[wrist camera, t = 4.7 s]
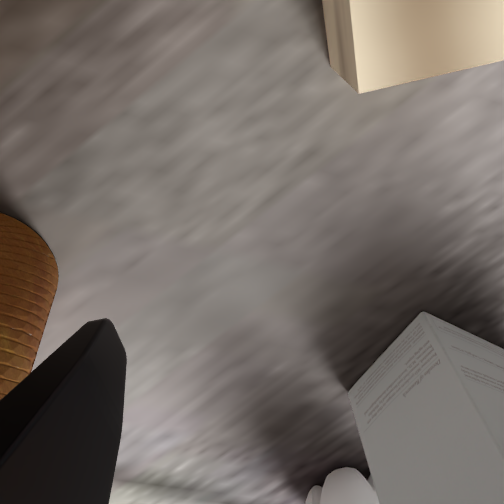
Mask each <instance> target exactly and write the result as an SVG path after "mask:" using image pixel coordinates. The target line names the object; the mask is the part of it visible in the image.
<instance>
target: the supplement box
mask: <svg viewBox="0 0 504 504" xmlns="http://www.w3.org/2000/svg"><path fill="white" fill-rule="evenodd" d="M348 397H349V400H350V404H351V407H352V411H353V414H354V417H355V421H356V425H357V428H358V432H359V435H360V438H361V442H362V445H363V449H364V452H365V456H366V459H367V462H368V466H369V469H370V473H371V476H372V480H373V483H374V487H375V490H376V493H377V497H378V500H379V504H504V349H502V348H500V347H498V346H496V345H494V344H492V343H490V342H488V341H486V340H483V339H481V338H479V337H477V336H475V335H473V334H471V333H469V332H467V331H464V330H462V329H460V328H458V327H456V326H454V325H452V324H450V323H447V322H445V321H443V320H441V319H439V318H437V317H435V316H433V315H431V314H428V313H426V312H421V313H420V314H419V315H418V316H417V317H416V318H415V319H414V320H413V321H412V323H411V324H410V325H409V326H408V327H407V328H406V329H405V330H404V331H403V332H402V333H401V334H400V335H399V336H398V338H397V339H396V340H395V341H394V342H393V343H392V344H391V345H390V346H389V347H388V348H387V349H386V351H385V352H384V353H383V354H382V355H381V356H380V357H379V358H378V359H377V360H376V361H375V362H374V363H373V365H372V366H371V367H370V368H369V369H368V370H367V371H366V372H365V373H364V374H363V376H362V377H361V378H360V379H359V380H358V381H357V382H356V383H355V384H354V386H353V387H352V388H351V389H350V391H349V392H348Z"/></svg>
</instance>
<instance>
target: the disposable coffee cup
mask: <svg viewBox="0 0 504 504" xmlns="http://www.w3.org/2000/svg"><path fill="white" fill-rule="evenodd" d="M57 284H58V267H57V264H56V261H55V258H54V256H53V254H52V252H51V251H50V249H49V248H48V246H47V245H46V243H45V242H44V241H43V240H42V238H41V237H40V236H39V235H38V234H37V233H35V232H34V231H33V230H32V229H30V228H29V227H28V226H26V225H25V224H23V223H21V222H20V221H18V220H16V219H14V218H12V217H10V216H7V215H5V214H2V213H0V400H1V399H2V398H3V397H4V396H5V395H7V394H8V393H9V392H10V391H11V390H12V389H13V388H14V387H16V386H17V385H18V384H19V383H20V382H21V381H22V380H23V379H24V378H26V377H27V376H28V375H29V374H30V373H31V370H32V367H33V364H34V361H35V358H36V354H37V351H38V348H39V345H40V342H41V338H42V335H43V332H44V329H45V325H46V322H47V319H48V316H49V312H50V309H51V306H52V303H53V299H54V296H55V293H56V290H57Z"/></svg>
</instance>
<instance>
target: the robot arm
mask: <svg viewBox="0 0 504 504" xmlns="http://www.w3.org/2000/svg"><path fill="white" fill-rule="evenodd" d="M126 364H127V358H126V352H125V349H124V346H123V344H122V342H121V340H120V338H119V336H118V333H117V331H116V329H115V327H114V325H113V323H112V322H111V321H110V320H109V319H107V318H104V319H99V320H94V321H89V322H87V323H86V324H85V325H83V326H82V327H81V328H80V329H79V330H78V331H77V332H76V333H75V334H73V335H72V336H71V337H70V338H69V339H68V340H67V341H66V342H65V343H63V344H62V345H61V346H60V347H59V348H58V349H57V350H56V351H54V352H53V353H52V354H51V355H50V356H49V357H48V358H47V359H46V360H44V361H43V362H42V363H41V364H40V365H39V366H38V367H37V368H36V369H34V370H33V371H32V372H31V373H30V374H29V375H28V376H27V377H26V378H24V379H23V380H22V381H21V382H20V383H19V384H18V385H17V386H16V387H14V388H13V389H12V390H11V391H10V392H9V393H8V394H7V395H5V396H4V397H3V398H2V399H1V400H0V504H109V499H110V493H111V488H112V483H113V477H114V472H115V466H116V461H117V456H118V450H119V445H120V439H121V432H122V422H123V408H124V393H125V379H126Z"/></svg>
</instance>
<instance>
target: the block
mask: <svg viewBox="0 0 504 504" xmlns="http://www.w3.org/2000/svg"><path fill="white" fill-rule="evenodd" d="M322 4H323V12H324V20H325V28H326V36H327V43H328V51H329V59H330V67H331V68H332V69H333V70H335V71H336V72H337V73H338V74H339V75H340V76H341V77H342V78H343V79H344V80H345V81H346V82H347V83H348V84H349V85H350V86H351V87H352V88H353V89H354V90H355V91H356V92H357V93H359V94H360V93H365V92H369V91H373V90H378V89H382V88H386V87H391V86H395V85H399V84H404V83H408V82H412V81H416V80H421V79H425V78H429V77H434V76H438V75H442V74H447V73H451V72H455V71H460V70H464V69H468V68H473V67H477V66H481V65H485V64H490V63H494V62H498V61H503V60H504V0H322Z"/></svg>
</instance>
